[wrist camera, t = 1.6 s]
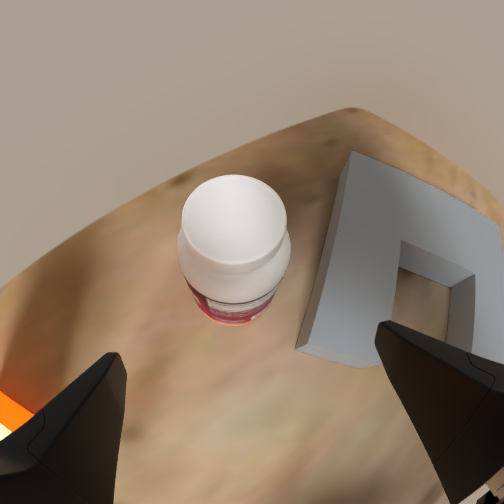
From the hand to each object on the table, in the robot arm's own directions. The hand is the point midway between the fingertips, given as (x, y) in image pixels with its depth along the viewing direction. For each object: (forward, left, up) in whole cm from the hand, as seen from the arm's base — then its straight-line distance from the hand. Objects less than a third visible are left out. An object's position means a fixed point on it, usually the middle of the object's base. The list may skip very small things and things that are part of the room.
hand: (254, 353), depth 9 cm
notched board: (+11, -13, -12) cm, 21 cm away
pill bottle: (+5, +3, -12) cm, 14 cm away
